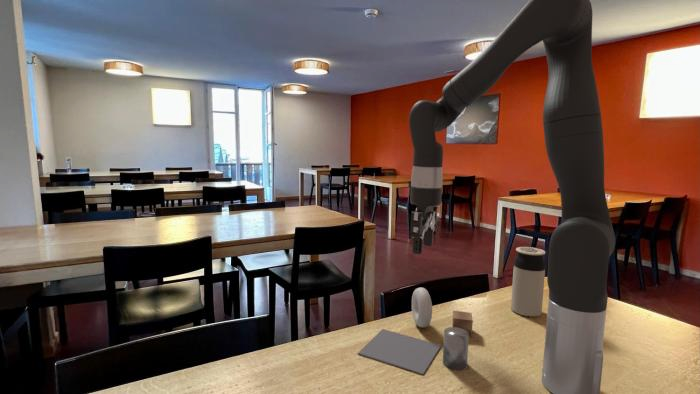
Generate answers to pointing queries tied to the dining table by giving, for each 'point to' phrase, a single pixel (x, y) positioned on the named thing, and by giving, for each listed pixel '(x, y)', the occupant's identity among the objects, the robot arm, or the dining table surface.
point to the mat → (401, 351)
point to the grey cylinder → (455, 348)
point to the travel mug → (528, 281)
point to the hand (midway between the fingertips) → (422, 249)
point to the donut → (421, 307)
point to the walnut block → (463, 321)
